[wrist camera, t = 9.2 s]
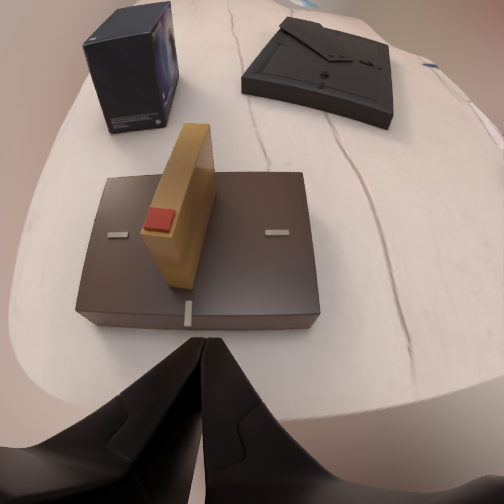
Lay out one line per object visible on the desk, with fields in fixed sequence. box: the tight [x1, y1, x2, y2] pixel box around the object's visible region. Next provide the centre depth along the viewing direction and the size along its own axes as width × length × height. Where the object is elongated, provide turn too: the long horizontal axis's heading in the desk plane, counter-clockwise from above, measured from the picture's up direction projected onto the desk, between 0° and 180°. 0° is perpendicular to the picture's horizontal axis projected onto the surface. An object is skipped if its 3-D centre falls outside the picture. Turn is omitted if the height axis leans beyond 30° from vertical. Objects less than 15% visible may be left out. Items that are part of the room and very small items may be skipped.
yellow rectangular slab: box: [140, 123, 217, 290], centre depth 16 cm, size 7×1×6 cm, turn 172°
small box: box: [82, 1, 179, 133], centre depth 26 cm, size 11×6×10 cm, turn 3°
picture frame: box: [241, 17, 394, 130], centre depth 33 cm, size 16×3×21 cm
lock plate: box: [75, 172, 320, 330], centre depth 20 cm, size 14×11×3 cm
